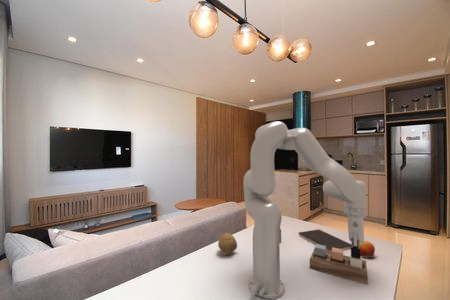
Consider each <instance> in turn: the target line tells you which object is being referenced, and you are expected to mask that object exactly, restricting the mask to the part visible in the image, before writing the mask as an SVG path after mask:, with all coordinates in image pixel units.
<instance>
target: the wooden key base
mask: <svg viewBox="0 0 450 300" xmlns="http://www.w3.org/2000/svg"><path fill="white" fill-rule="evenodd" d="M309 270H315V271H319V272H322V273H325V274H329V275H333V276H335V277H340V278H344V279H347V280H350V281H355V282H357V283H360V284H363V285H364V284H365V285H368V284H369V278H368V276H369V274H368V266H367V260H366V259H363V258H362V269H361V268H357V267H353V266H350V255H349V256H348V255H345V254H343V261H340V260H336V259H332V252H327V251H326V255H325V257H324V256H319V255H315V248H313V251H312V253H311V255H310V257H309Z"/></svg>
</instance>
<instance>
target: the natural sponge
mask: <svg viewBox="0 0 450 300" xmlns="http://www.w3.org/2000/svg"><path fill="white" fill-rule="evenodd" d="M217 246H218V248H219V250H220V251H221V253H223V254H224V255H226V256H229V255H231V254H232V253H233V252H235V251H236V250H237V248H238V242H237V240H236V238H235V237H234V235H233V234H232V233H229V232H224V233H223V234H222V235H220V237H219V240H218V243H217Z"/></svg>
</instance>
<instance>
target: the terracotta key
mask: <svg viewBox="0 0 450 300" xmlns="http://www.w3.org/2000/svg"><path fill="white" fill-rule="evenodd" d="M343 255H344V250H342V249H338V248H333V247H332V259H336V260H340V261H343Z"/></svg>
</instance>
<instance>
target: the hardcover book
mask: <svg viewBox="0 0 450 300" xmlns="http://www.w3.org/2000/svg"><path fill="white" fill-rule="evenodd" d="M297 233H298V236H299V237H301V238H302V239H304V240H306V241H307V242H310V243H311V244H313V245H315V246H316V244H319V245H324V246H326V251H327V252H332V247H333V248H338V249H342V250H343V251H347V250H351V243H350V242H347V241H345V240H343V239H341V238H339V237H336V236H334V235H332V234H331V233H328V232H325V231H323V230H321V229H314V230H313V229H312V230H306V231H300V232H297Z"/></svg>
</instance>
